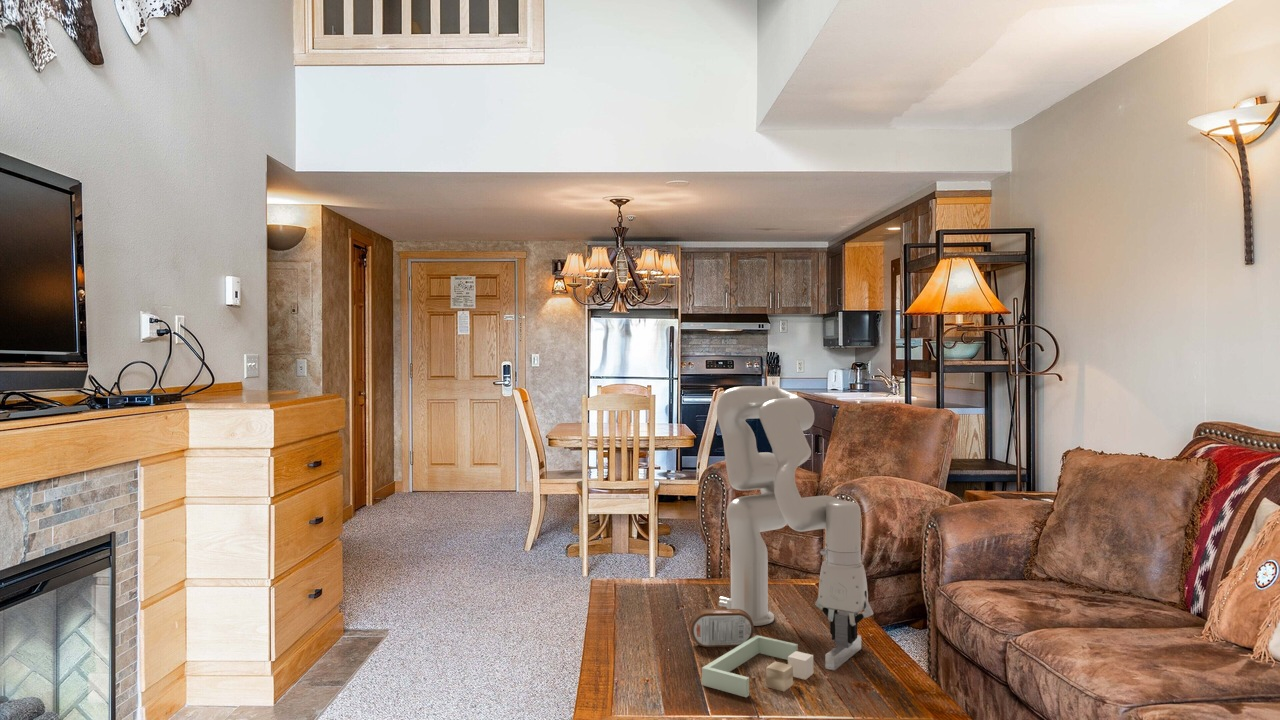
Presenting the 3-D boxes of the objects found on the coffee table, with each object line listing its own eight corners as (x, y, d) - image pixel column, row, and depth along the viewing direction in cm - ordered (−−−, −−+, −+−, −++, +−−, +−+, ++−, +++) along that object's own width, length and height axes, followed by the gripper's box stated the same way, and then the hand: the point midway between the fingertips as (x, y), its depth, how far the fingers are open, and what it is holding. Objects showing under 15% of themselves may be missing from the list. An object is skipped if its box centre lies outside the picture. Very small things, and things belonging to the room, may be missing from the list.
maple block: (766, 687, 157) (766, 667, 157) (775, 680, 160) (775, 661, 160) (784, 692, 154) (784, 671, 154) (792, 685, 158) (792, 665, 158)
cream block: (787, 675, 163) (787, 656, 163) (795, 669, 166) (795, 651, 166) (805, 680, 160) (805, 660, 160) (813, 673, 163) (813, 655, 163)
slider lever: (823, 667, 166) (823, 621, 167) (850, 646, 179) (850, 603, 179) (836, 671, 165) (836, 624, 165) (863, 649, 178) (863, 605, 178)
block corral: (701, 685, 158) (701, 667, 158) (756, 650, 177) (756, 635, 177) (746, 697, 152) (746, 679, 152) (797, 660, 171) (797, 644, 171)
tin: (752, 642, 182) (752, 607, 182) (755, 647, 179) (755, 611, 179) (689, 644, 181) (688, 608, 181) (690, 649, 178) (690, 612, 178)
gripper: (802, 555, 174) (802, 637, 174) (873, 566, 164) (874, 652, 164) (815, 549, 180) (816, 628, 180) (885, 559, 170) (885, 642, 170)
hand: (843, 639), depth 172 cm, fingers closed on slider lever, 3 cm apart
